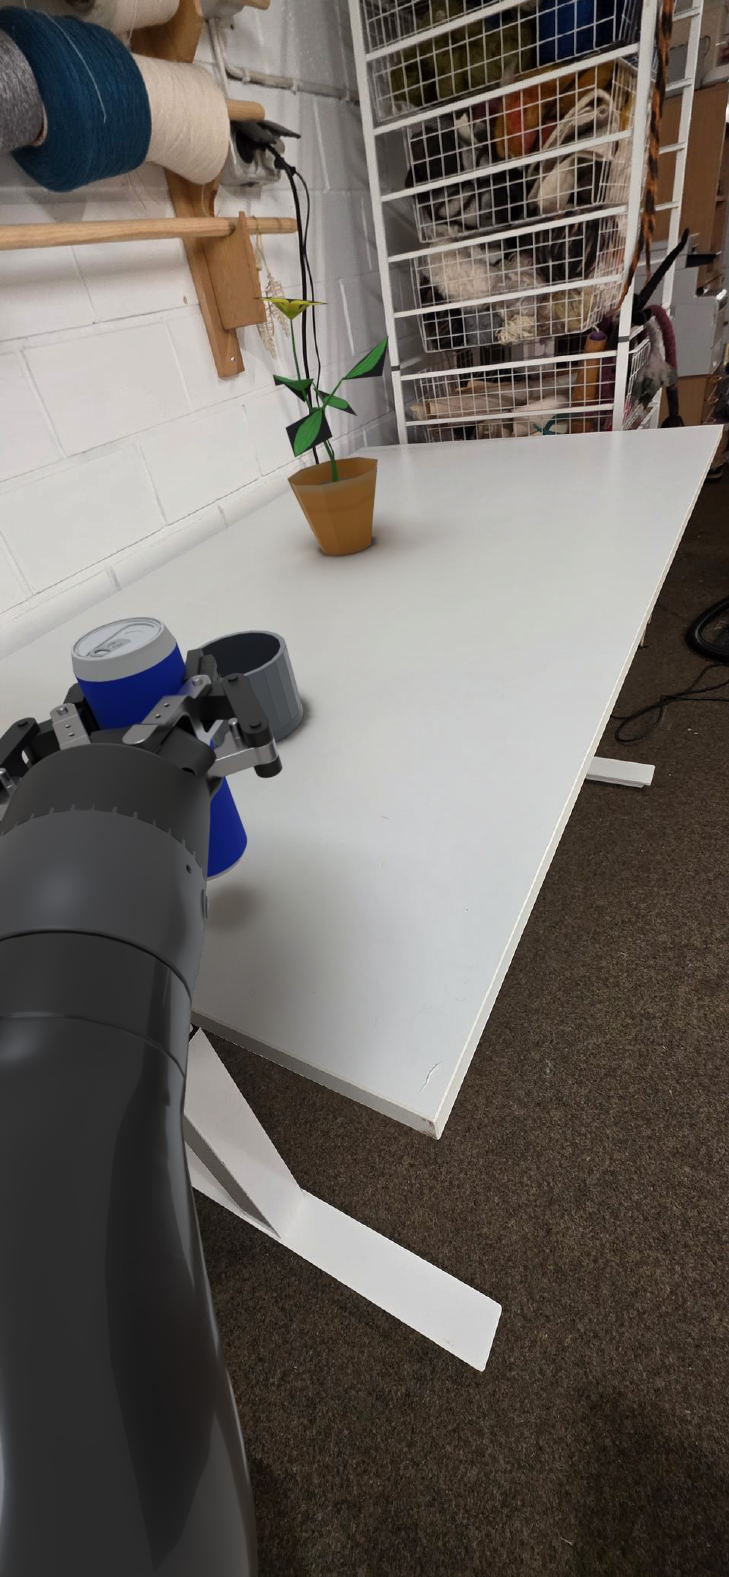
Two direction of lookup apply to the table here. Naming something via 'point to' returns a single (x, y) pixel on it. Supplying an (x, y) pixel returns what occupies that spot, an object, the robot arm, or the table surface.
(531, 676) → the table surface
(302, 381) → the potted plant
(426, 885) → the table surface
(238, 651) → the grey pen holder cup
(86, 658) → the beverage can
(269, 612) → the table surface
